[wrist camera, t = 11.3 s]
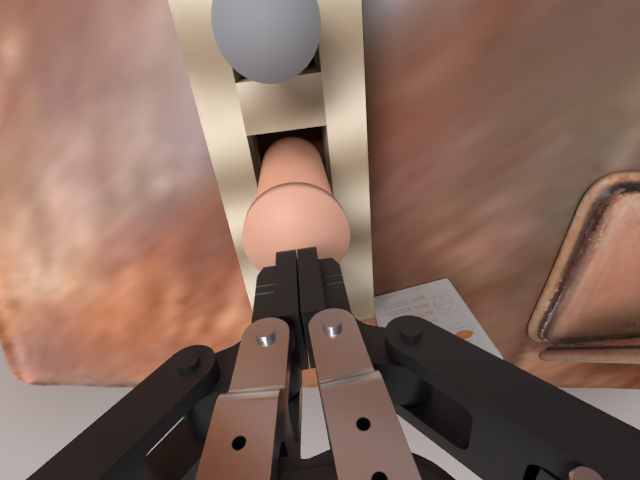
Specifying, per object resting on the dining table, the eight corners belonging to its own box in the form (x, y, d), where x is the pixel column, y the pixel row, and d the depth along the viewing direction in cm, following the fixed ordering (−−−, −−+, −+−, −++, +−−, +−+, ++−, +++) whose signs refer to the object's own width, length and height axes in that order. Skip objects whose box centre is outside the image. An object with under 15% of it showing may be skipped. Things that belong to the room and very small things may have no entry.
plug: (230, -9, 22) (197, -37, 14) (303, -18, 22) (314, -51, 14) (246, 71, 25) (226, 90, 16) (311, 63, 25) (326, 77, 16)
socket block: (168, -81, 20) (137, -113, 16) (340, -102, 20) (355, -139, 16) (261, 297, 34) (258, 334, 30) (363, 282, 35) (374, 317, 30)
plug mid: (251, 136, 22) (230, 197, 14) (323, 127, 22) (346, 181, 14) (264, 202, 25) (254, 289, 16) (329, 193, 25) (353, 275, 16)
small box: (379, 334, 38) (408, 426, 29) (370, 295, 36) (399, 384, 26) (451, 316, 38) (504, 404, 29) (448, 275, 35) (505, 359, 26)
